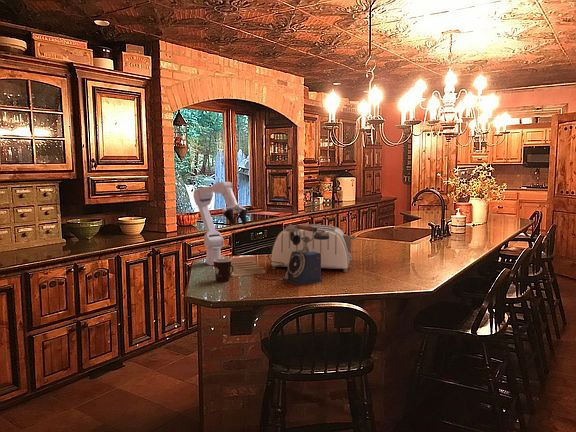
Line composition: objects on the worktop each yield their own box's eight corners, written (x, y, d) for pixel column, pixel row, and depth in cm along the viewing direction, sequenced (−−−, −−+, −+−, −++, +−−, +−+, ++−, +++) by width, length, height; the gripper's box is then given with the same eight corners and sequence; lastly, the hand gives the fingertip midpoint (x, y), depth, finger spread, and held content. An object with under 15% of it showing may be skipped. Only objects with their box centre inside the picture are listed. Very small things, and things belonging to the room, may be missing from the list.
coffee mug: (212, 279, 233) (211, 259, 232) (229, 277, 236) (229, 257, 235) (217, 285, 222) (216, 264, 221) (235, 283, 225) (234, 262, 224)
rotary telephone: (247, 275, 243) (247, 222, 240) (282, 269, 256) (282, 219, 253) (297, 293, 210) (297, 232, 207) (334, 285, 224) (335, 228, 221)
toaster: (354, 273, 247) (355, 230, 244) (269, 269, 255) (269, 228, 252) (355, 264, 268) (356, 224, 265) (277, 261, 276) (277, 222, 273)
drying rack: (222, 269, 253) (221, 263, 253) (253, 266, 261) (253, 260, 261) (232, 276, 238) (232, 270, 238) (265, 273, 246) (265, 267, 246)
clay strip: (230, 266, 262) (230, 257, 262) (253, 264, 269) (253, 255, 268) (231, 267, 260) (231, 258, 260) (255, 265, 266) (255, 256, 266)
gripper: (224, 196, 242) (233, 219, 237) (245, 198, 253) (254, 219, 248) (216, 204, 246) (225, 226, 241) (238, 205, 257) (246, 226, 252)
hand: (239, 223), depth 245 cm, fingers open, 7 cm apart
